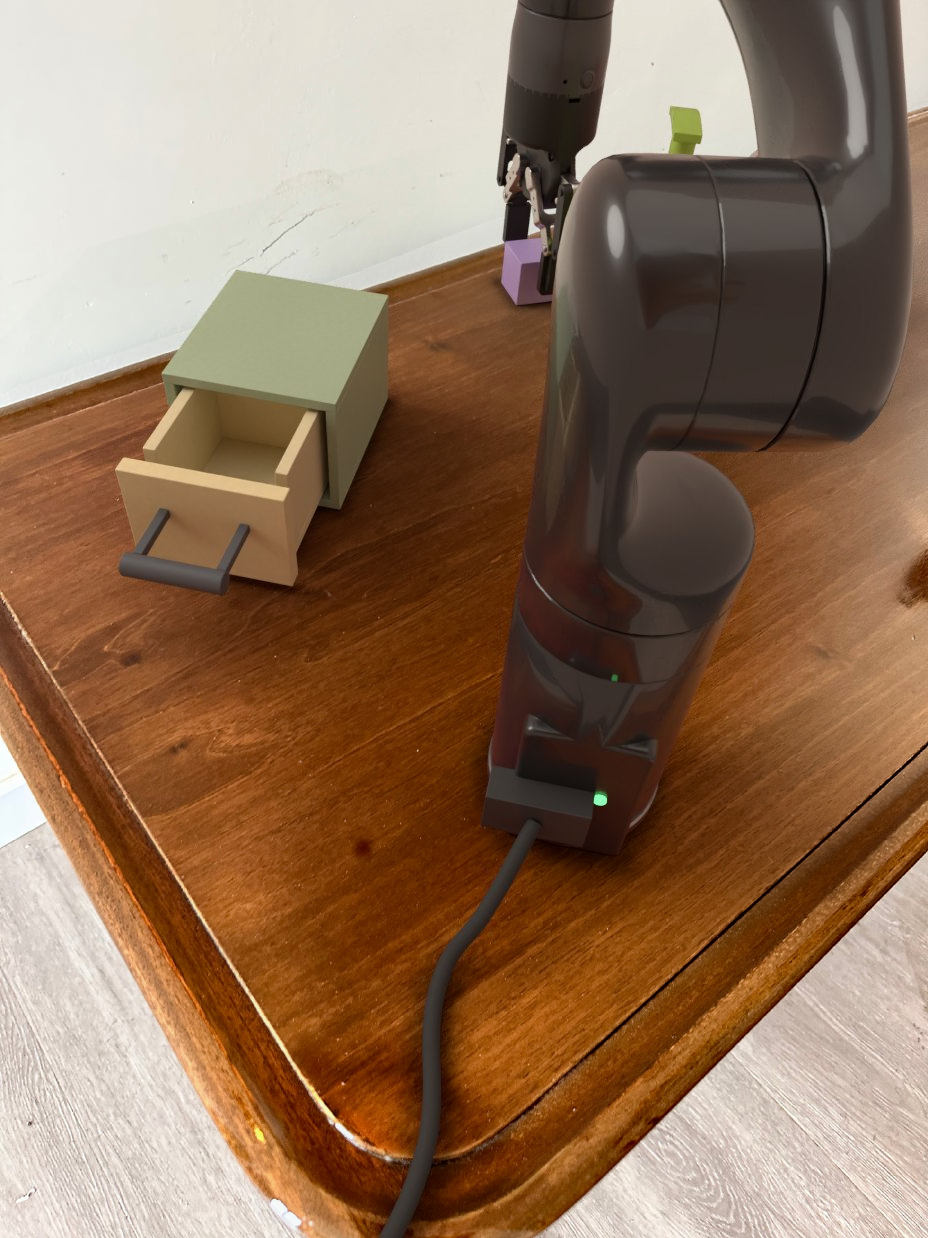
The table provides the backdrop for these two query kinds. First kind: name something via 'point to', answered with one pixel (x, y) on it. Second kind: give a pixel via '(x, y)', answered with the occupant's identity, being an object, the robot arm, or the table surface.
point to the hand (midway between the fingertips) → (531, 267)
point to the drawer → (223, 491)
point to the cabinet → (295, 358)
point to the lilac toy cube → (523, 271)
